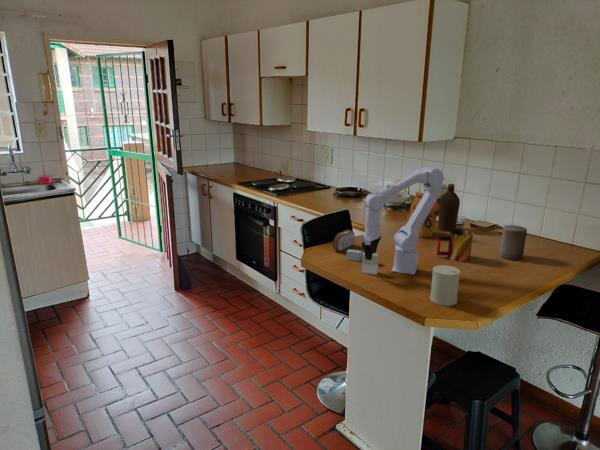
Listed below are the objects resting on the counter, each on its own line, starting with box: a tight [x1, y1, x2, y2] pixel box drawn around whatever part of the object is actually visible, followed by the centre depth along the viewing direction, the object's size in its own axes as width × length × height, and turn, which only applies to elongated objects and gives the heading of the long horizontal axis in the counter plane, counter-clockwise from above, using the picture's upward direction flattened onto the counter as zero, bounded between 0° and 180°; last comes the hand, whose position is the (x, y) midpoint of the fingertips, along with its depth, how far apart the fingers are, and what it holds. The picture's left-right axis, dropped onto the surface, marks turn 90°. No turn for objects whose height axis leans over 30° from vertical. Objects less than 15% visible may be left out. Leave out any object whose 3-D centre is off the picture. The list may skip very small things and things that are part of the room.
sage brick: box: [361, 251, 379, 266], centre depth 177 cm, size 6×3×4 cm, turn 69°
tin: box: [332, 229, 356, 252], centre depth 205 cm, size 15×3×8 cm, turn 141°
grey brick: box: [361, 263, 379, 276], centre depth 178 cm, size 6×3×4 cm, turn 68°
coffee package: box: [409, 191, 435, 239], centre depth 225 cm, size 10×12×22 cm
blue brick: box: [345, 248, 363, 262], centre depth 192 cm, size 6×3×4 cm, turn 68°
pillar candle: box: [499, 224, 528, 261], centre depth 195 cm, size 10×10×15 cm
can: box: [429, 264, 461, 307], centre depth 153 cm, size 9×9×12 cm
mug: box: [436, 228, 474, 263], centre depth 193 cm, size 10×14×12 cm
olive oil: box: [437, 183, 461, 232], centre depth 235 cm, size 11×11×25 cm
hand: (370, 256), depth 177 cm, fingers open, 7 cm apart
